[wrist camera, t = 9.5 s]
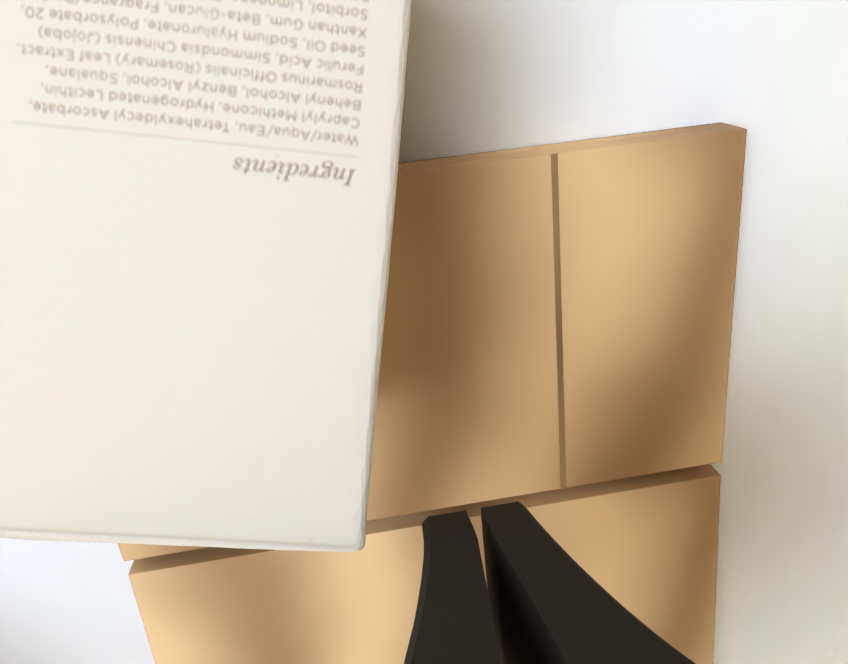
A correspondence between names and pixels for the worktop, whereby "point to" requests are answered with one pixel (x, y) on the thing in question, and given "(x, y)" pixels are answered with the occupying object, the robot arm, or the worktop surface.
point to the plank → (402, 571)
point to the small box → (195, 267)
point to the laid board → (554, 318)
